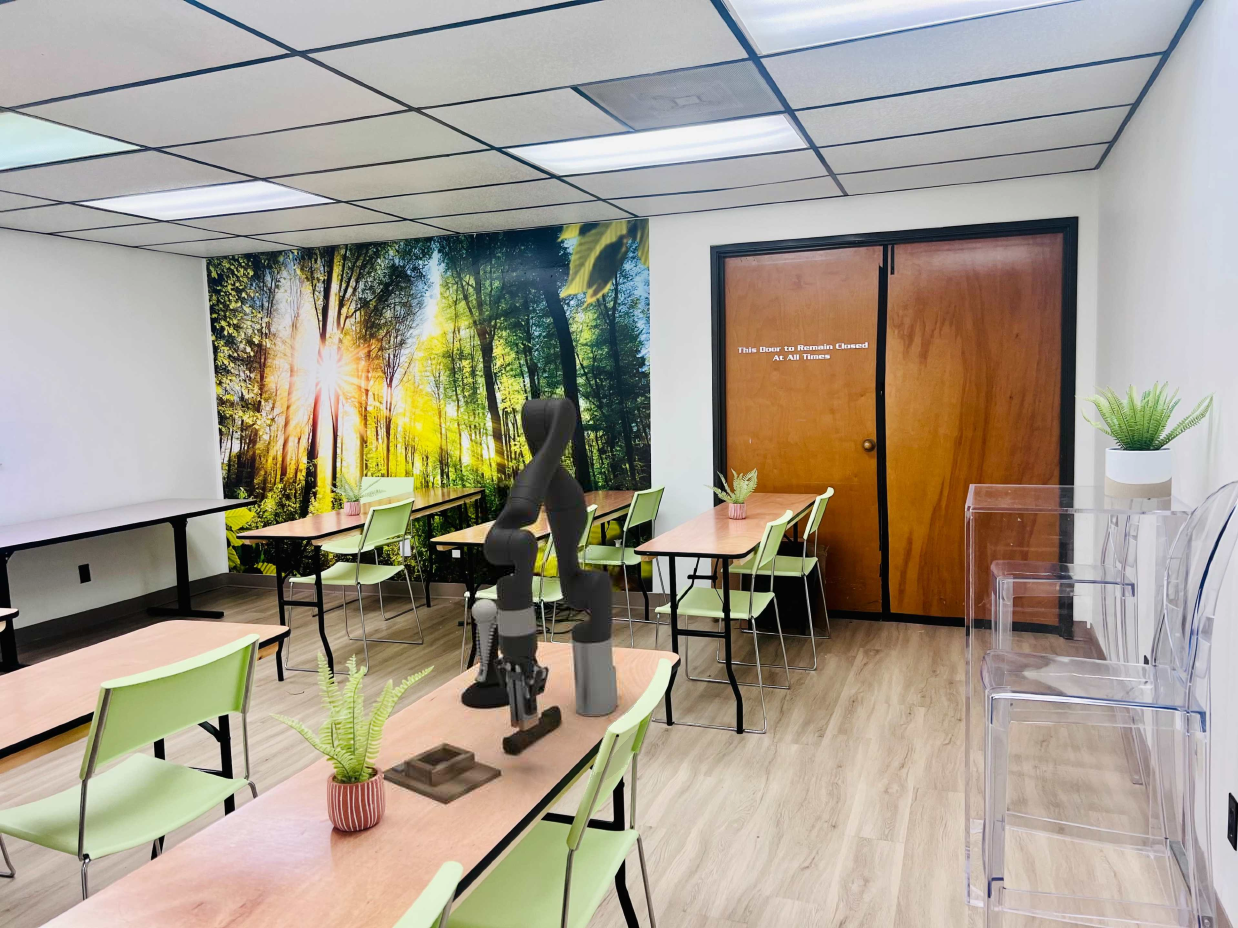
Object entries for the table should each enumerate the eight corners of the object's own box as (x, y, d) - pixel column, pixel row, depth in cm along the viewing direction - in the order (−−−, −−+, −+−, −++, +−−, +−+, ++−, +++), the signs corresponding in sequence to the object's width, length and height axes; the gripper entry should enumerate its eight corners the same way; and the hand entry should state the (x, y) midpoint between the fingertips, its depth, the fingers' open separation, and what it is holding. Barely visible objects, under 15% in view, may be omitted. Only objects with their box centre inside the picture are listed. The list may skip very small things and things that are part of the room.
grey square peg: (525, 719, 173) (520, 658, 172) (538, 723, 171) (534, 661, 170) (511, 726, 170) (506, 664, 169) (524, 730, 168) (519, 667, 166)
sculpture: (448, 702, 210) (441, 603, 207) (511, 672, 229) (505, 581, 227) (495, 712, 201) (488, 609, 199) (556, 681, 221) (550, 586, 219)
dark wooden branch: (516, 757, 177) (515, 735, 176) (501, 753, 179) (500, 732, 178) (571, 724, 192) (570, 705, 192) (556, 721, 195) (555, 702, 194)
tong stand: (436, 751, 181) (434, 733, 181) (501, 774, 168) (499, 755, 168) (380, 777, 170) (379, 758, 170) (445, 803, 158) (444, 783, 157)
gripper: (556, 628, 167) (562, 712, 169) (506, 618, 176) (512, 698, 178) (529, 639, 161) (536, 726, 163) (478, 628, 170) (485, 711, 172)
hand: (523, 711), depth 170 cm, fingers closed on grey square peg, 3 cm apart
